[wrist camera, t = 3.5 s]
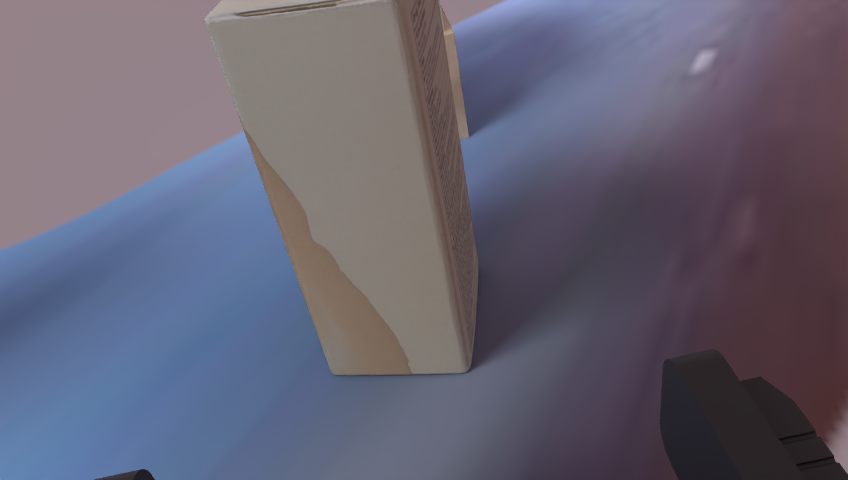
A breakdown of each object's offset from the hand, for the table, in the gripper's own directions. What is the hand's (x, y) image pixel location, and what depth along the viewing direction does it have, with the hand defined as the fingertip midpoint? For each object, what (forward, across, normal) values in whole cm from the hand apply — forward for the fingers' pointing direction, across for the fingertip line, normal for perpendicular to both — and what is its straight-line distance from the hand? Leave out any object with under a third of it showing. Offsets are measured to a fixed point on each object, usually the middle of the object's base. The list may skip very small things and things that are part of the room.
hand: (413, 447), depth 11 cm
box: (+10, 0, +6) cm, 11 cm away
